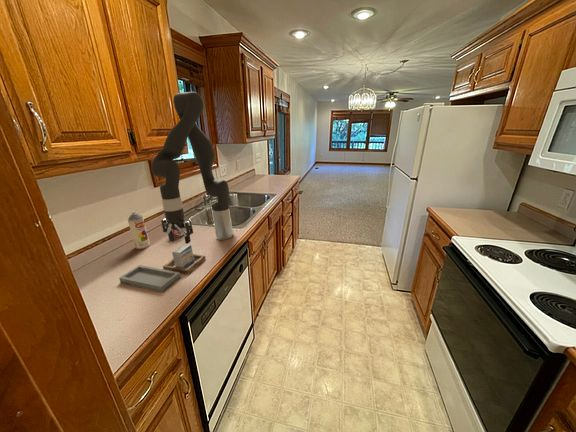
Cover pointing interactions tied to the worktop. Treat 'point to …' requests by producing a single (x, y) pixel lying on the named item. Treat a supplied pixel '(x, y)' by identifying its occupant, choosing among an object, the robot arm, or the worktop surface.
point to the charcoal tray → (150, 278)
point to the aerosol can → (138, 231)
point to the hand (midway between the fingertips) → (180, 241)
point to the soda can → (177, 233)
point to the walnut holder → (181, 270)
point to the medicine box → (183, 256)
